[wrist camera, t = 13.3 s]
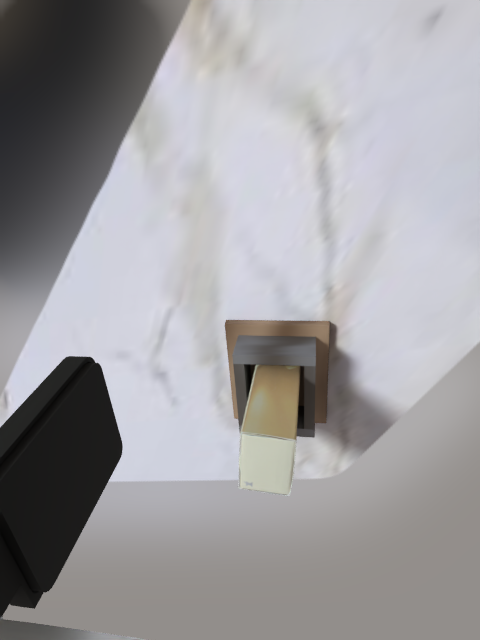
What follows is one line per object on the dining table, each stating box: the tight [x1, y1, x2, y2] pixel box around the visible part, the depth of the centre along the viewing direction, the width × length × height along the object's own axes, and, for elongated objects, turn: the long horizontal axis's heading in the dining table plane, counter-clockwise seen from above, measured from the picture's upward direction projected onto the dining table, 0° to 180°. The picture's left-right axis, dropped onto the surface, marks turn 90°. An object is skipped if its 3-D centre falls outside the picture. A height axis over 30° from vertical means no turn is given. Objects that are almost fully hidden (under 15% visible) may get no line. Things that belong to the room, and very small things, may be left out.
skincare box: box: [238, 365, 301, 496], centre depth 38 cm, size 6×4×12 cm
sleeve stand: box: [225, 320, 330, 437], centre depth 42 cm, size 10×12×4 cm
